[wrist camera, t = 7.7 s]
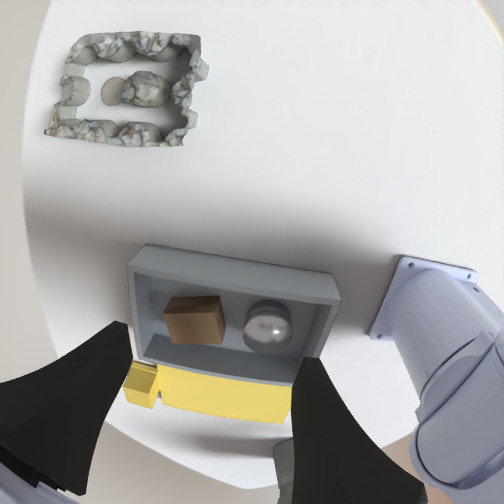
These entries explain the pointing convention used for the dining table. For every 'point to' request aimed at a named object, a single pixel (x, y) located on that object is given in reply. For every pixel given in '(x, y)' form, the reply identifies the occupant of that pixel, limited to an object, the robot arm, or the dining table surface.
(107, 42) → the egg carton
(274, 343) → the grey rounded puck
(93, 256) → the dining table surface
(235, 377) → the tub
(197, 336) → the walnut block
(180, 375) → the lid
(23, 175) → the dining table surface
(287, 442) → the coffeepot
